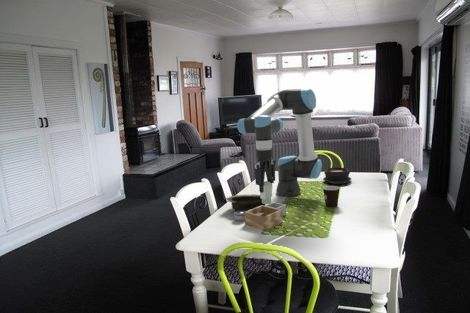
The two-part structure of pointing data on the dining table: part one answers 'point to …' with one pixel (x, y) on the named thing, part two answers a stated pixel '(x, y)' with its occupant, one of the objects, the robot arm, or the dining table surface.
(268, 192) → the pale green block
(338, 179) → the casserole
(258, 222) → the oak crate
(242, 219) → the pewter tin
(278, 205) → the grey tub
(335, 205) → the coffee mug
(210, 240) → the dining table surface
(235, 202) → the stone bowl
